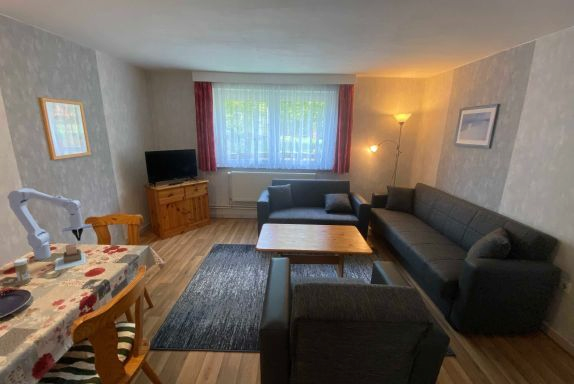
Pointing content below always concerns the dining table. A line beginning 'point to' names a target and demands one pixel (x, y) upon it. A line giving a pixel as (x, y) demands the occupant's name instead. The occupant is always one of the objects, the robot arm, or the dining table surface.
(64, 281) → the dining table surface
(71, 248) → the terracotta block
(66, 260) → the frame
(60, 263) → the board
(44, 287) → the dining table surface
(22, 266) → the spice jar
